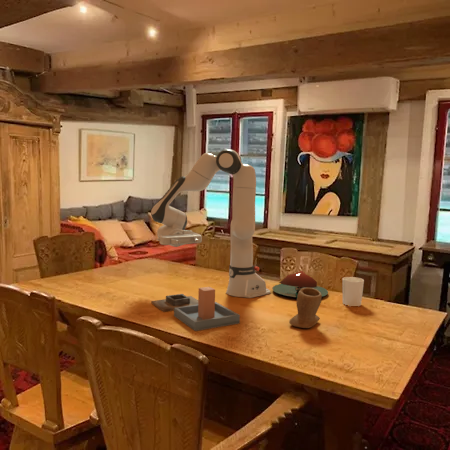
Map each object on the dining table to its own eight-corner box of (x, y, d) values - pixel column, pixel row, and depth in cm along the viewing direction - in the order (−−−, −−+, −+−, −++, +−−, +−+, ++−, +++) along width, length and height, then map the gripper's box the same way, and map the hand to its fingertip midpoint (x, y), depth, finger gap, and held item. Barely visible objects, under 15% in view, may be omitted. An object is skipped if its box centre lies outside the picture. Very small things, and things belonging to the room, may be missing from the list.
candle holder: (364, 303, 222) (365, 278, 221) (360, 308, 213) (362, 282, 212) (343, 300, 226) (344, 275, 225) (339, 305, 217) (340, 280, 216)
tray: (215, 309, 206) (215, 301, 206) (239, 323, 189) (239, 314, 188) (174, 315, 196) (174, 307, 196) (195, 330, 179) (195, 322, 178)
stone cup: (313, 333, 180) (315, 295, 178) (285, 326, 186) (287, 290, 184) (327, 322, 193) (329, 287, 191) (300, 316, 199) (301, 282, 197)
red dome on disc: (265, 296, 229) (266, 274, 228) (280, 283, 255) (281, 263, 254) (322, 304, 219) (323, 280, 218) (332, 290, 245) (333, 269, 243)
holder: (190, 298, 223) (191, 290, 223) (204, 305, 211) (204, 298, 211) (151, 303, 213) (151, 295, 213) (163, 311, 201) (163, 303, 201)
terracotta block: (208, 314, 196) (209, 286, 194) (214, 318, 191) (215, 289, 190) (198, 316, 193) (198, 287, 192) (203, 319, 189) (204, 290, 187)
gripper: (155, 232, 220) (166, 236, 209) (194, 230, 231) (207, 234, 219) (155, 245, 221) (166, 250, 209) (193, 242, 231) (206, 247, 220)
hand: (187, 241), depth 214 cm, fingers open, 8 cm apart
